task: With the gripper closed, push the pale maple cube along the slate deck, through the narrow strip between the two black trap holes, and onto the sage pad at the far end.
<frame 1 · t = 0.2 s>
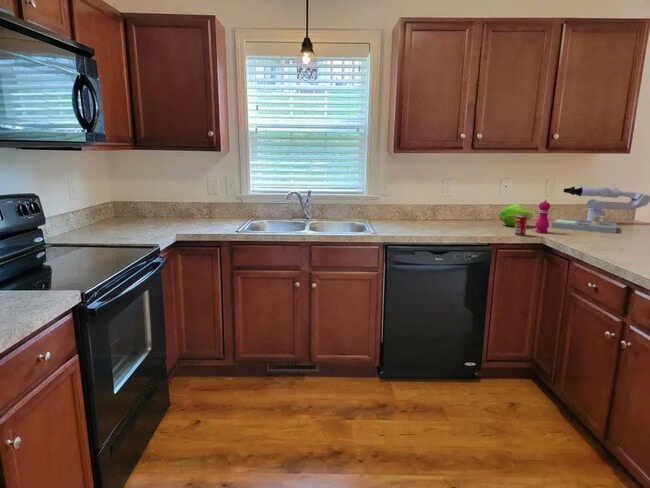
hand: (566, 190, 284), 21 cm above the worktop, fingers open, 7 cm apart
pepper mill: (541, 232, 255), on the worktop
maple cube: (597, 224, 266), point 3 cm above the worktop, touching trap deck
lettuce: (514, 226, 276), on the worktop
beverage can: (519, 235, 248), on the worktop
trap deck: (585, 227, 270), on the worktop
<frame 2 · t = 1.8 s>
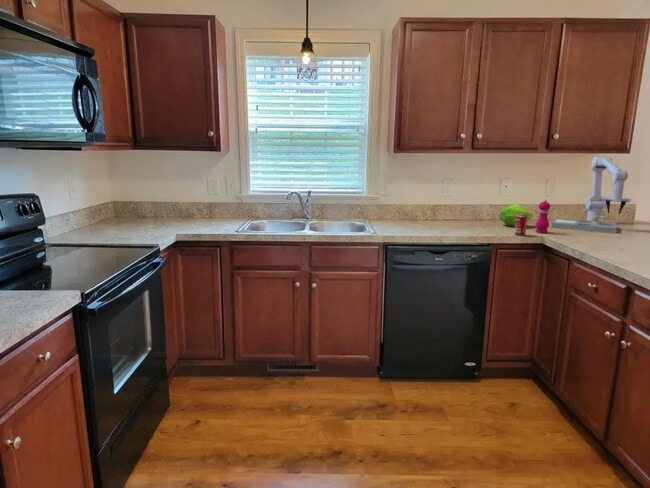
hand: (613, 213, 261), 10 cm above the worktop, fingers open, 5 cm apart
nothing on the worktop moved.
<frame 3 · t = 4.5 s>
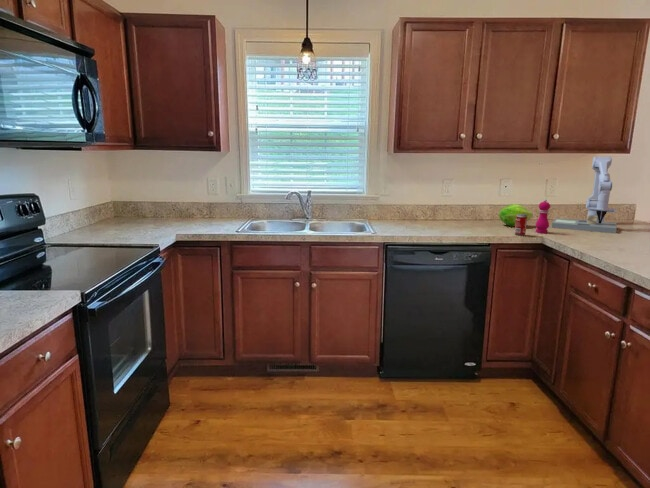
hand: (599, 223, 266), 4 cm above the worktop, fingers closed
maple cube: (591, 223, 268), point 3 cm above the worktop, touching gripper, trap deck
everything else where it was.
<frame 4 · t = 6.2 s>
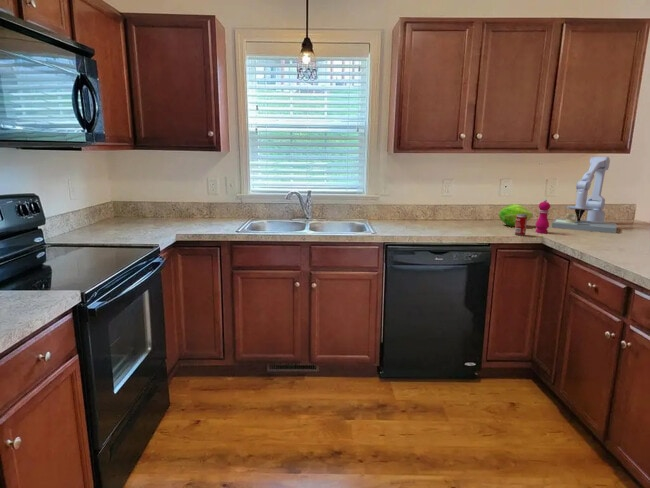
hand: (578, 221, 272), 4 cm above the worktop, fingers closed
maple cube: (570, 221, 274), point 3 cm above the worktop, touching gripper, trap deck
everything else where it was.
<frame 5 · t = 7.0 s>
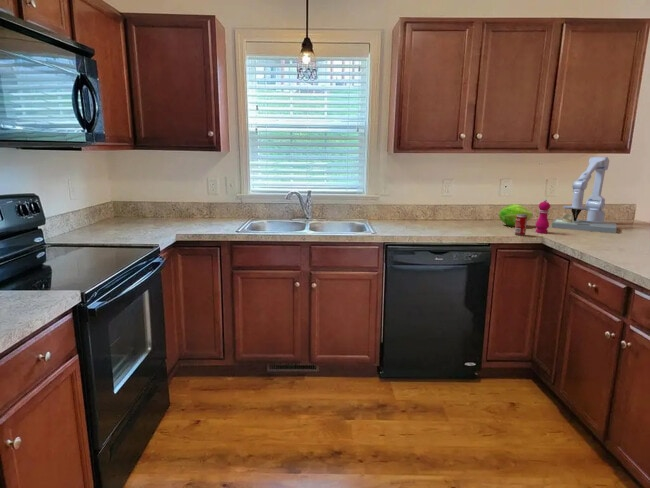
hand: (574, 220, 273), 4 cm above the worktop, fingers closed
maple cube: (567, 221, 275), point 3 cm above the worktop, touching gripper, trap deck
everything else where it was.
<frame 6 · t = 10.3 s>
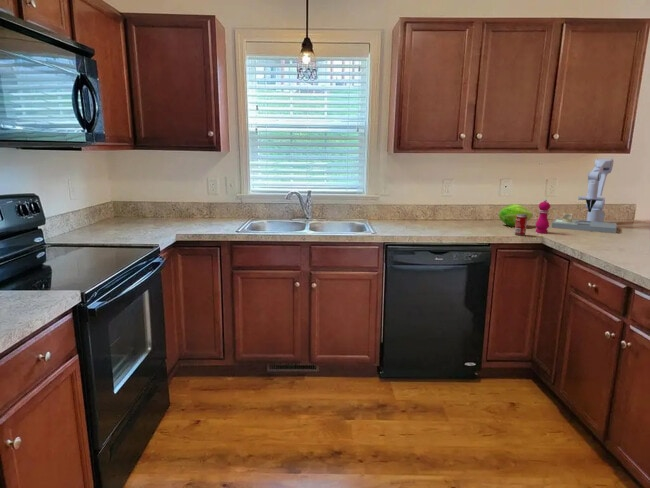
hand: (589, 211, 274), 9 cm above the worktop, fingers closed
maple cube: (567, 221, 275), point 3 cm above the worktop, touching trap deck
everything else where it was.
at the end: maple cube inside the target area on the trap deck (0.8 cm from its centre), point 3.0 cm above the trap deck's base; maple cube tilted 0° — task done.
